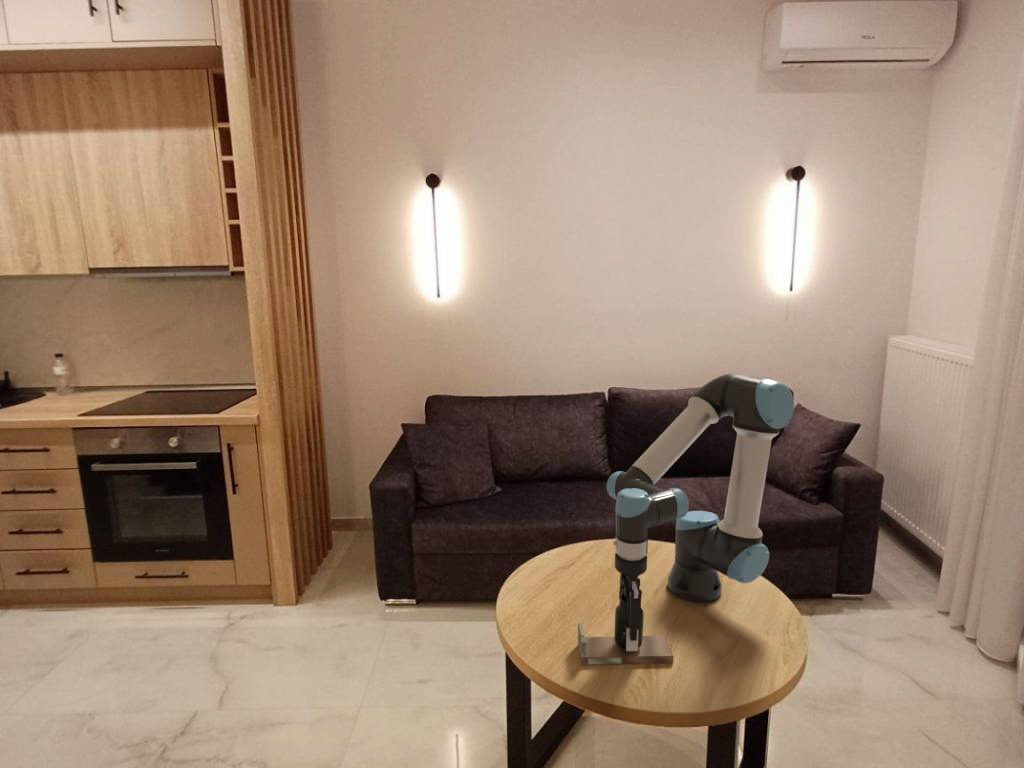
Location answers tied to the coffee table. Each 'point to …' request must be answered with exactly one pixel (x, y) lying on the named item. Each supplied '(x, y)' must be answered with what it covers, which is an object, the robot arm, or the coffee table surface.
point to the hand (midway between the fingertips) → (628, 640)
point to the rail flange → (622, 650)
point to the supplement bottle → (620, 623)
